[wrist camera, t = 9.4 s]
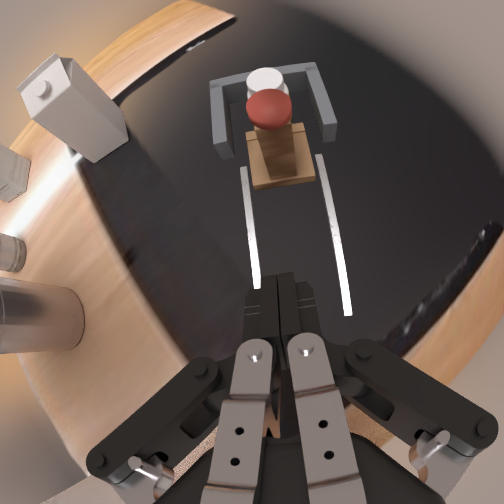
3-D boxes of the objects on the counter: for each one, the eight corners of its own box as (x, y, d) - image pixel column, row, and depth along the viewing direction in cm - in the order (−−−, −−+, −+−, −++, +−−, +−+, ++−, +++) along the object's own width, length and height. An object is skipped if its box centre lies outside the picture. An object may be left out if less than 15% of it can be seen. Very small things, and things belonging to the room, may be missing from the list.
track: (260, 327, 31) (259, 328, 30) (241, 170, 35) (240, 167, 34) (351, 314, 29) (352, 314, 28) (321, 157, 33) (321, 153, 32)
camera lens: (12, 242, 42) (-18, 232, 34) (28, 237, 41) (-4, 226, 33) (10, 274, 40) (-21, 268, 33) (26, 272, 39) (-8, 265, 32)
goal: (222, 160, 35) (213, 144, 32) (217, 98, 38) (209, 81, 34) (335, 141, 33) (337, 122, 29) (315, 81, 36) (314, 62, 32)
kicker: (255, 190, 33) (227, 129, 21) (248, 140, 35) (221, 71, 23) (315, 181, 32) (316, 114, 20) (303, 130, 34) (297, 57, 22)
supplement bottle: (280, 103, 36) (272, 59, 28) (299, 125, 35) (295, 81, 26) (249, 119, 36) (235, 77, 28) (267, 142, 35) (256, 100, 27)
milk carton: (90, 134, 42) (19, 75, 23) (123, 112, 41) (57, 41, 23) (94, 164, 40) (11, 104, 22) (129, 140, 39) (52, 66, 21)
